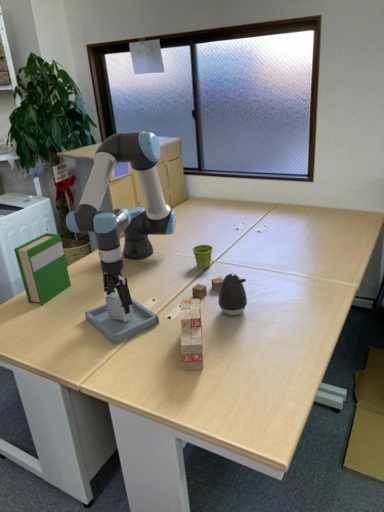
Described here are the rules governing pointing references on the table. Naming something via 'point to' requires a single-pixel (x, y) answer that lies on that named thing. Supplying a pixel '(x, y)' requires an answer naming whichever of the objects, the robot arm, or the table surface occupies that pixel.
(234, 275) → the pump dispenser
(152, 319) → the tray
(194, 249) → the plant pot
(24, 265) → the hardback book
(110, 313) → the medicine box
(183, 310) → the stack of blocks
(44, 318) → the table surface
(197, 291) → the walnut block
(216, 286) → the walnut block
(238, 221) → the table surface
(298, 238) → the table surface
